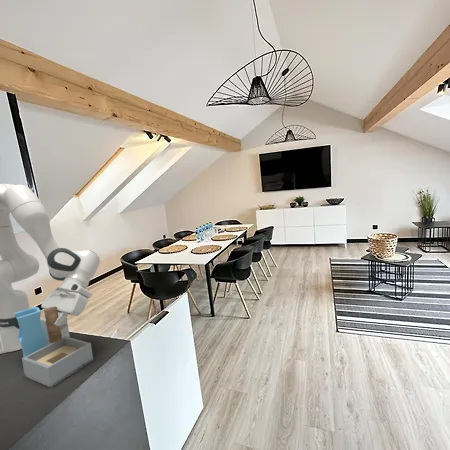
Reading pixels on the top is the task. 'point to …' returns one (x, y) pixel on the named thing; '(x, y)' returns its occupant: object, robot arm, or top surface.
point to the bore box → (57, 361)
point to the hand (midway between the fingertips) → (51, 324)
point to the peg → (52, 329)
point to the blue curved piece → (30, 330)
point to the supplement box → (63, 327)
